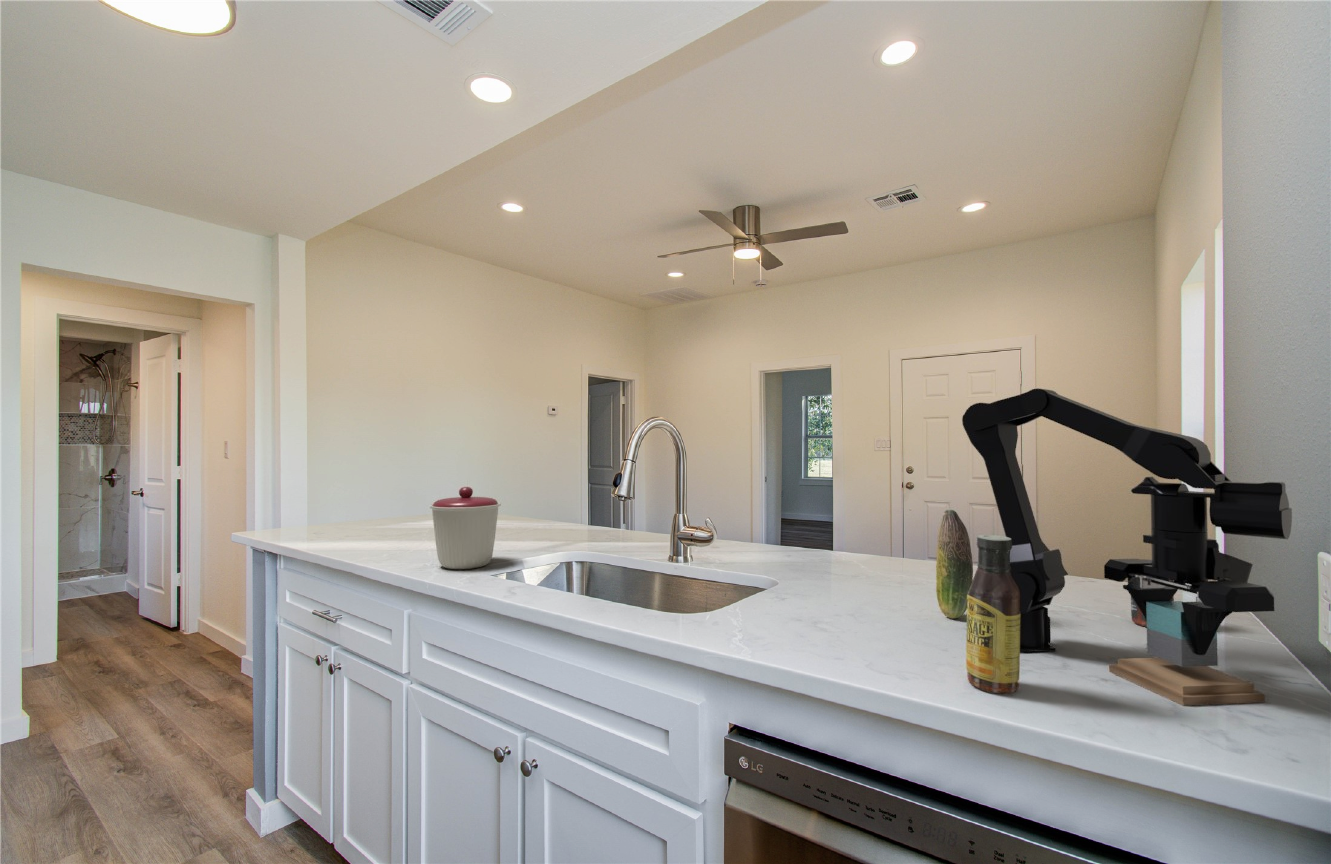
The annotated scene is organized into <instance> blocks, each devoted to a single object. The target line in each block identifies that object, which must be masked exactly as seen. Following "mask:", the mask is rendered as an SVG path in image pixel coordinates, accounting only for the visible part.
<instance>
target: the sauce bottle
mask: <svg viewBox="0 0 1331 864" xmlns="http://www.w3.org/2000/svg"><path fill="white" fill-rule="evenodd" d="M976 546H977V548H978V549H977V552H978V553H977V554H978V555H977V562H978V563H977V569H976V571H975V573H974V575H973V580H972V583H971V586H970V589H969V591H968V594H967V610H966V635H965V636H966V643H965V644H966V646H965V647H966V649H965V650H966V653H965V654H966V655H965V660H966V661H965V668H966V671H967V673H966V677H967V681H968V683H969V684H970V685H972V686H973V687H974V688H978V689H980V690H982V691H985V692H987V693H992V694H1011V693H1012V694H1013V693H1015V692H1016V691H1018V690H1019V686H1020V684H1019V681H1020V661H1021V660H1020V659H1021V656H1020V655H1021V652H1020V611H1019V608H1020V603H1019V602H1020V593H1019V588H1018V587H1017V585H1016V583H1015V582H1014V580H1013V579H1012V576H1011V573H1010V569H1011V567H1010V551H1011V549H1012V539H1011V538H1009V537H1006V535H998V534H997V535H996V534H980V535H978V536H977V537H976Z"/></svg>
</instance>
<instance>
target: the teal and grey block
mask: <svg viewBox="0 0 1331 864" xmlns="http://www.w3.org/2000/svg"><path fill="white" fill-rule="evenodd" d="M1182 602H1183V601H1182V600H1174V601H1159V602H1146V613H1147V627H1146V651H1147V653H1146V654H1148V655H1150V656H1153V657H1154V658H1160V659H1163V660H1165V661H1168V662H1170V663H1173V664H1175V665H1178V666H1181V667H1196V666H1207V667H1213V666H1214V667H1215V666H1216V667H1217V666H1219V665H1218V663H1219V662H1218V631H1217V632H1216V634H1215V636H1214V638H1213V640H1212V642H1211V644H1210V646H1209V648H1208V650H1207V652H1206V654H1205V655H1197V654H1195V652H1194V649H1193V646H1192V643H1191V640H1190V635H1189V631H1188V627H1187V623H1186V618H1185V614H1184V610H1183V606H1182Z"/></svg>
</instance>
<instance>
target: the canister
mask: <svg viewBox="0 0 1331 864" xmlns="http://www.w3.org/2000/svg"><path fill="white" fill-rule="evenodd" d="M473 493H474V491H473V488H472V487H469V486H464V487H463V486H462V487H461V488H460V489H459V491H458V495H459V497H458V496H456V497H447V498H441V499H437V500H436V501H435V502H433V503H432V504H430V505H429V508H430V509H431V510H432V520H433V521H432V523H433V530H434V540H435V546H436V555H437V560H438V562H439V564H440V565H441V566H442V567H443V568H446V569H449V570H471V569H478V568H482V567H484V566H487V565H488V564H490V562H491V561H492V558H493V554H494V547H495V539H496V531H497V524H498V523H497V522H498V515H499V507H500V506H501V504H502V503H501V502H499V501H498V500H496V499H494V498H493V497H487V496H486V497H485V496H473Z"/></svg>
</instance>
